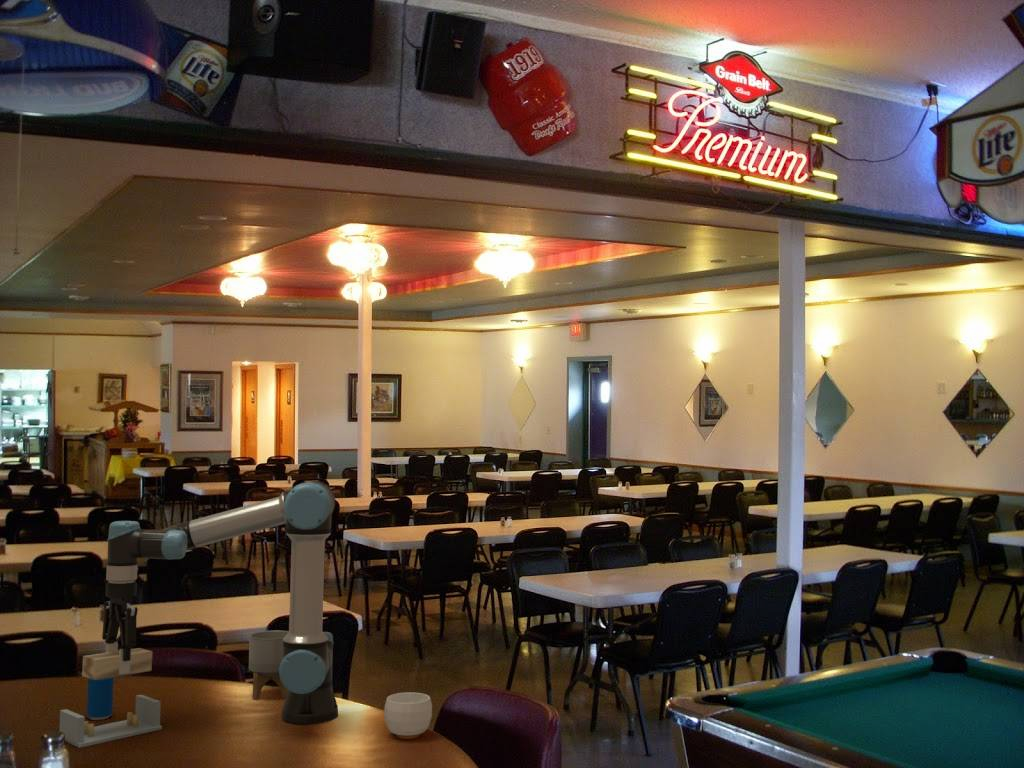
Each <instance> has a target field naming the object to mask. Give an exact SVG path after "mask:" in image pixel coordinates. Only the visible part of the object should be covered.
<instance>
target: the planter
mask: <svg viewBox="0 0 1024 768" xmlns="http://www.w3.org/2000/svg"><path fill="white" fill-rule="evenodd" d="M288 633H289V630H277V629H276V630H261V631H256V632H253V633H251V634H250V635H249V637H248V638H249V640H248V641H249V642H248V644H249V645H248V646H249V647H248V649H249V650H248V671H250V672H252V676H253V678H252V700H253V701H259V700H260V696H261V693H262V689H263V688H264V686H265V685H266V683H267V682H268V681H274V683H276V685H277V686H278V687H279V690H280V693H281V699H283V700H286V697H287V694H288V691H289V690H288V689H287V688H286V687H285V686H284V685H283V683H282V682H281V679H280V675H279V667H280V664H281V662H282V650H283V638H284V637H285V636H286V635H287V634H288Z"/></svg>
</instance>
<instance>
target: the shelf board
mask: <svg viewBox="0 0 1024 768" xmlns="http://www.w3.org/2000/svg"><path fill="white" fill-rule="evenodd" d="M153 653H154V652H153V651H152V650H148V649H144V648H141V647H137V648H131V658H130V673H126V674H118V673H119V650H118V651H115V652H108V653H106V652H104V653H103V652H102V653H94V654H89V655H88V654H86V655H83V656H82V667H81V668H82V669H81V670H82V672H81V676H82V677H84V678H87V679H88V678H90V679H93V680H98V679H104V678H110V677H114V678H116V677H120V676H127V675H128V676H129V675H133V674H139V673H145V672H151V671H152V666H153V665H152V664H153Z"/></svg>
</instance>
